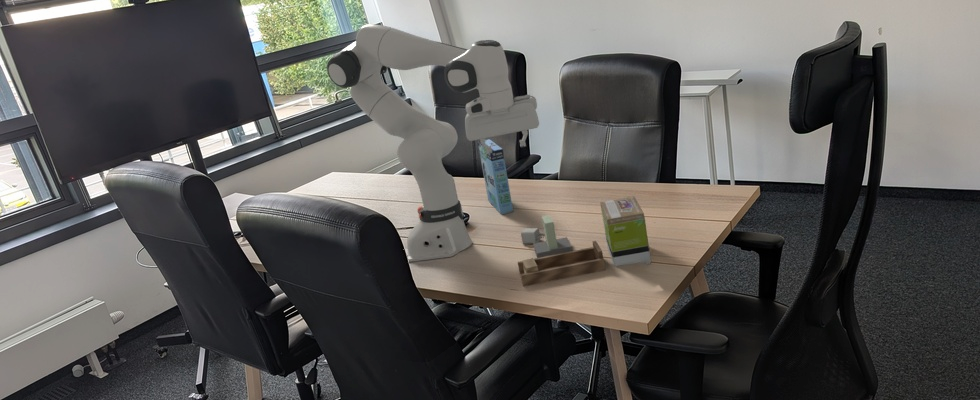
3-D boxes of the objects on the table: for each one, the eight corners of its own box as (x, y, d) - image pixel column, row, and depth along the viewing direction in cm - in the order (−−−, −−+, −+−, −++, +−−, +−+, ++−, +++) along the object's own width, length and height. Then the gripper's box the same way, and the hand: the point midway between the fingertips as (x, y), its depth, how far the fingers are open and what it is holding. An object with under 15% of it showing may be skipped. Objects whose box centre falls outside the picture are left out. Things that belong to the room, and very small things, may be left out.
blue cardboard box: (488, 201, 277) (476, 141, 271) (501, 197, 278) (490, 138, 272) (500, 215, 259) (488, 151, 252) (514, 211, 260) (503, 148, 253)
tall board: (549, 249, 211) (544, 223, 209) (546, 242, 217) (541, 216, 215) (557, 248, 211) (553, 221, 209) (554, 240, 217) (549, 214, 215)
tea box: (606, 249, 211) (599, 200, 207) (642, 244, 210) (635, 194, 206) (614, 270, 197) (606, 218, 193) (652, 264, 196) (645, 211, 192)
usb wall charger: (528, 239, 231) (525, 227, 230) (548, 239, 228) (546, 227, 226) (523, 244, 228) (520, 232, 226) (543, 244, 224) (541, 232, 223)
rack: (523, 289, 196) (520, 268, 194) (520, 275, 205) (516, 255, 204) (606, 273, 196) (602, 252, 194) (598, 259, 205) (595, 239, 204)
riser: (538, 263, 211) (536, 253, 210) (535, 253, 219) (533, 243, 218) (573, 256, 211) (571, 246, 210) (568, 246, 219) (566, 237, 218)
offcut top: (527, 275, 197) (526, 268, 196) (523, 267, 202) (522, 260, 202) (538, 272, 197) (537, 265, 196) (534, 264, 203) (533, 258, 202)
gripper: (533, 91, 204) (541, 140, 208) (460, 106, 204) (470, 154, 208) (536, 94, 198) (544, 144, 202) (460, 109, 198) (470, 159, 202)
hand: (506, 149), depth 205 cm, fingers open, 8 cm apart
